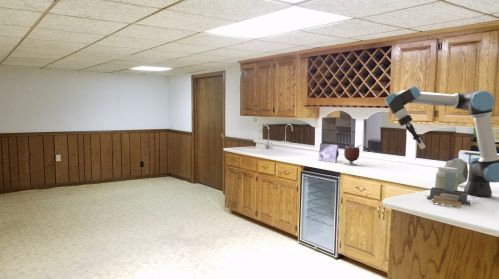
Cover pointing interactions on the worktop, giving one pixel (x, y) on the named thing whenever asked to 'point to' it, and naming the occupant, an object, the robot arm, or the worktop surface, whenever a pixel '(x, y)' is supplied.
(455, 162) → the rock
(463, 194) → the slot rack
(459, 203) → the offcut stack
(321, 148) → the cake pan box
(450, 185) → the slate board
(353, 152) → the mate gourd
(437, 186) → the supplement tub
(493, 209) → the worktop surface
